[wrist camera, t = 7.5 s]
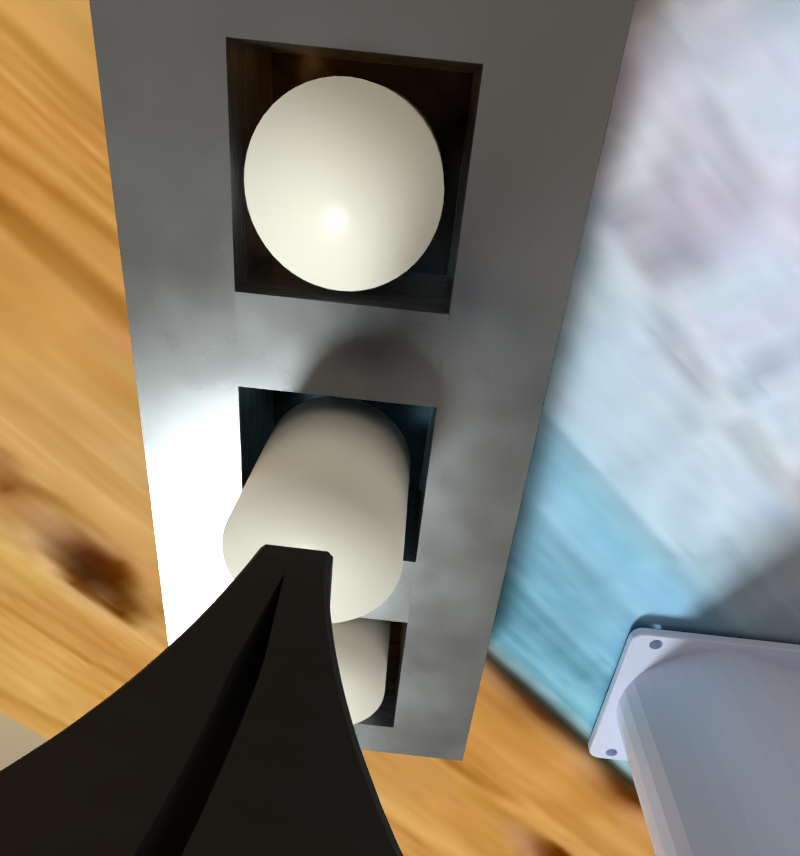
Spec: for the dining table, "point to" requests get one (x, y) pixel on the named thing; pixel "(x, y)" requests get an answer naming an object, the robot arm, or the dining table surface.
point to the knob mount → (354, 294)
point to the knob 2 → (362, 663)
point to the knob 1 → (344, 182)
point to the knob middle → (329, 499)
